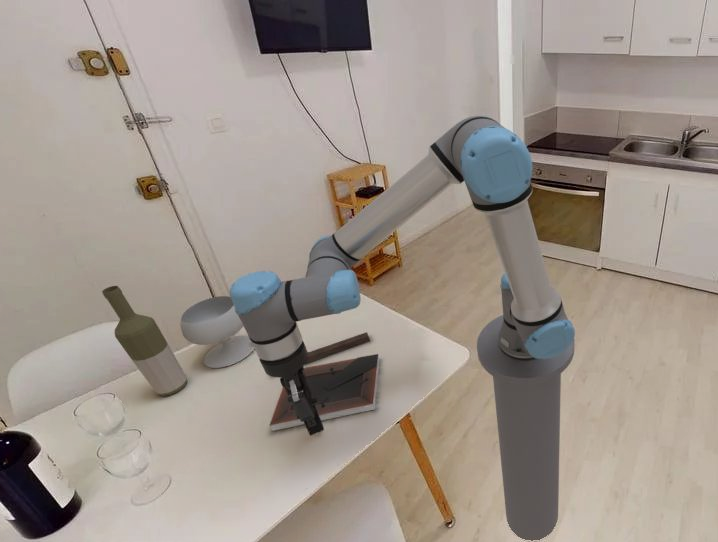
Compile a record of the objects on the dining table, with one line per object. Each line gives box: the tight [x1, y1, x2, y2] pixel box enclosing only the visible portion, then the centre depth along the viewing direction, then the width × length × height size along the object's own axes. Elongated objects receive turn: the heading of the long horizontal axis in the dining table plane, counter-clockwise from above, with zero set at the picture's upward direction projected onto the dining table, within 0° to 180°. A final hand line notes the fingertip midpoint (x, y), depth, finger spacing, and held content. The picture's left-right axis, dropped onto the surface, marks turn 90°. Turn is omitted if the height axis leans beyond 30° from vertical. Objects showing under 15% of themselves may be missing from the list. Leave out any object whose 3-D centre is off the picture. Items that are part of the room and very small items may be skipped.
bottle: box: [101, 285, 188, 397], centre depth 94 cm, size 7×7×30 cm
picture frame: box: [269, 353, 380, 432], centre depth 98 cm, size 16×2×22 cm
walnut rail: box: [305, 331, 371, 365], centre depth 110 cm, size 24×2×2 cm, turn 120°
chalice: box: [179, 295, 255, 369], centre depth 109 cm, size 14×14×15 cm
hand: (316, 430), depth 88 cm, fingers closed
